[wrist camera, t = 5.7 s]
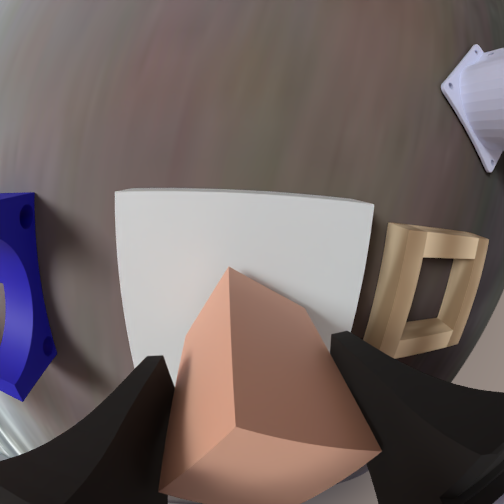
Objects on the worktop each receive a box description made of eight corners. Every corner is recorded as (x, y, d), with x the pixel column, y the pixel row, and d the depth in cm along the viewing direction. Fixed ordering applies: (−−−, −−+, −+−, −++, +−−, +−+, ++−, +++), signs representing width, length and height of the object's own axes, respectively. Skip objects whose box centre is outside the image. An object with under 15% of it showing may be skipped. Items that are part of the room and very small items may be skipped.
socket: (469, 232, 16) (489, 239, 14) (442, 331, 18) (457, 343, 16) (388, 222, 15) (408, 229, 13) (361, 344, 17) (375, 362, 15)
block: (304, 307, 12) (382, 451, 5) (257, 367, 13) (283, 512, 5) (228, 266, 11) (235, 426, 4) (185, 335, 12) (158, 492, 4)
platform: (352, 198, 14) (374, 204, 12) (323, 361, 17) (335, 384, 15) (132, 188, 13) (114, 191, 11) (147, 360, 16) (138, 384, 14)
